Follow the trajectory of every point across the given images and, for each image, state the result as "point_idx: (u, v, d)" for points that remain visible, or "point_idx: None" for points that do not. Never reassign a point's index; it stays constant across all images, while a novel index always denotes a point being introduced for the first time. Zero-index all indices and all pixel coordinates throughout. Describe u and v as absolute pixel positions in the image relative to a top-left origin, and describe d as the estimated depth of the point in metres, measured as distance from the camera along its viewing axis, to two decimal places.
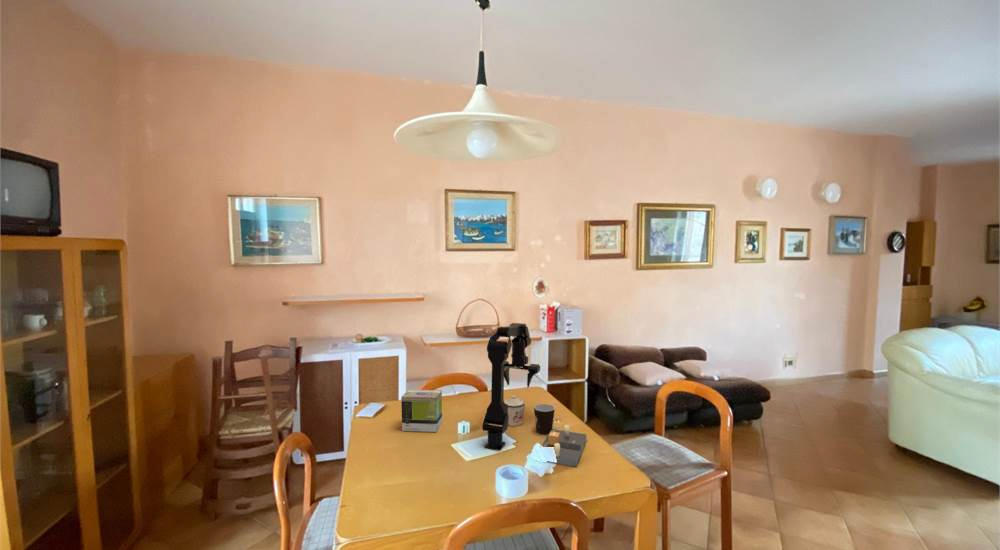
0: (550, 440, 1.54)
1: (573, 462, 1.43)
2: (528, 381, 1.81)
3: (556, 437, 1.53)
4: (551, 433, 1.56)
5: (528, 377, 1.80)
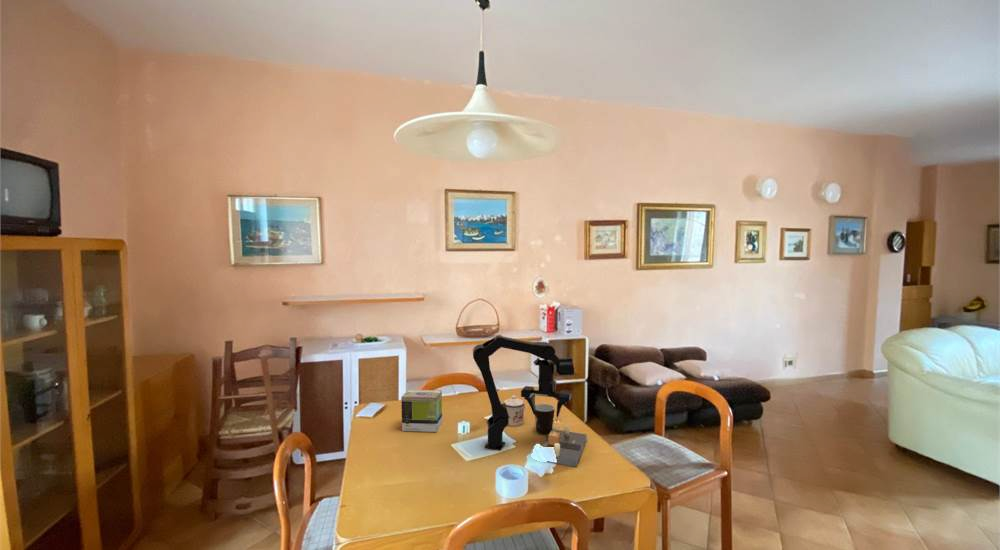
0: (550, 440, 1.54)
1: (573, 462, 1.43)
2: (558, 411, 1.57)
3: (556, 437, 1.53)
4: (551, 433, 1.56)
5: (558, 406, 1.56)
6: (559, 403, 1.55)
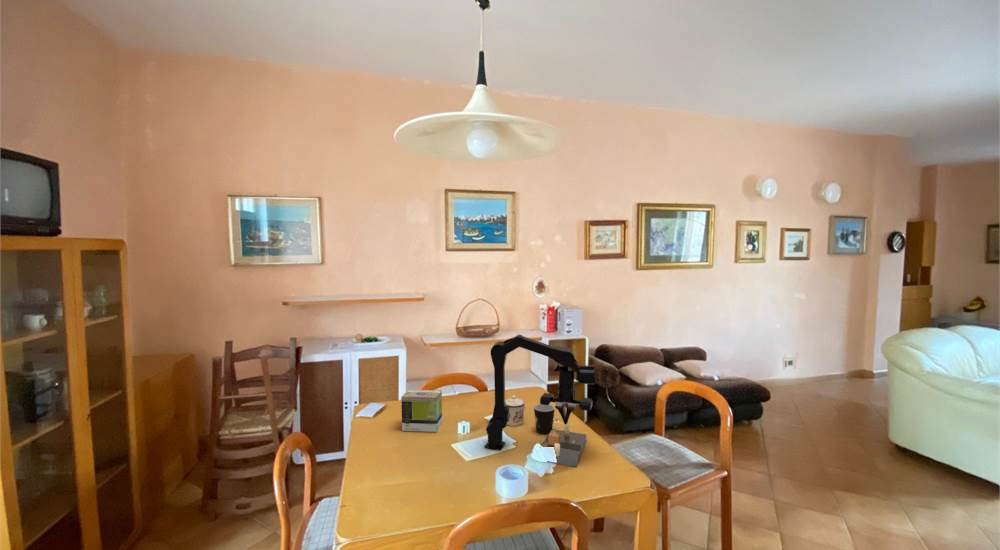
0: (550, 440, 1.54)
1: (573, 462, 1.43)
2: (567, 417, 1.53)
3: (556, 437, 1.53)
4: (551, 433, 1.56)
5: (567, 413, 1.52)
6: (568, 410, 1.52)
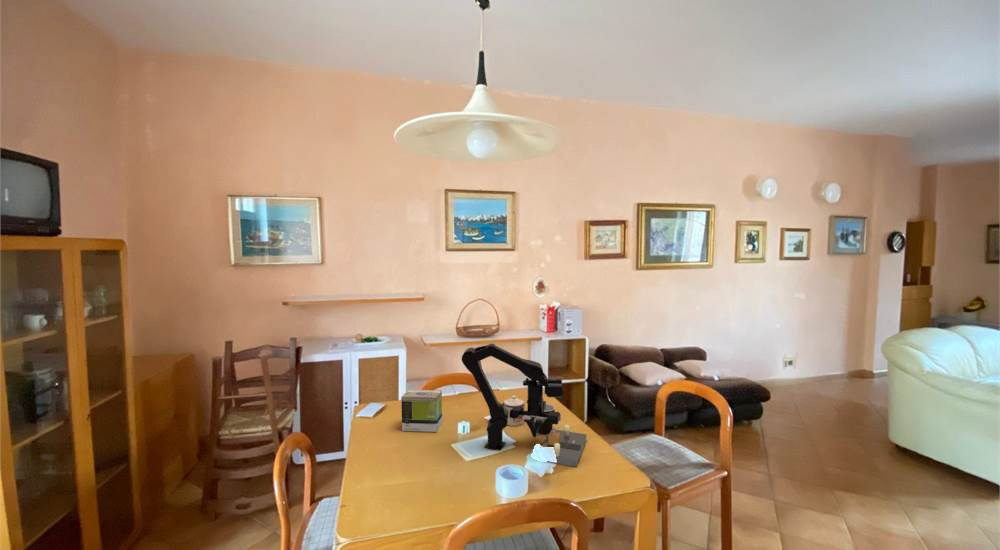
0: (550, 440, 1.54)
1: (573, 462, 1.43)
2: (535, 430, 1.56)
3: (556, 437, 1.53)
4: (551, 433, 1.56)
5: (535, 426, 1.55)
6: (536, 423, 1.54)
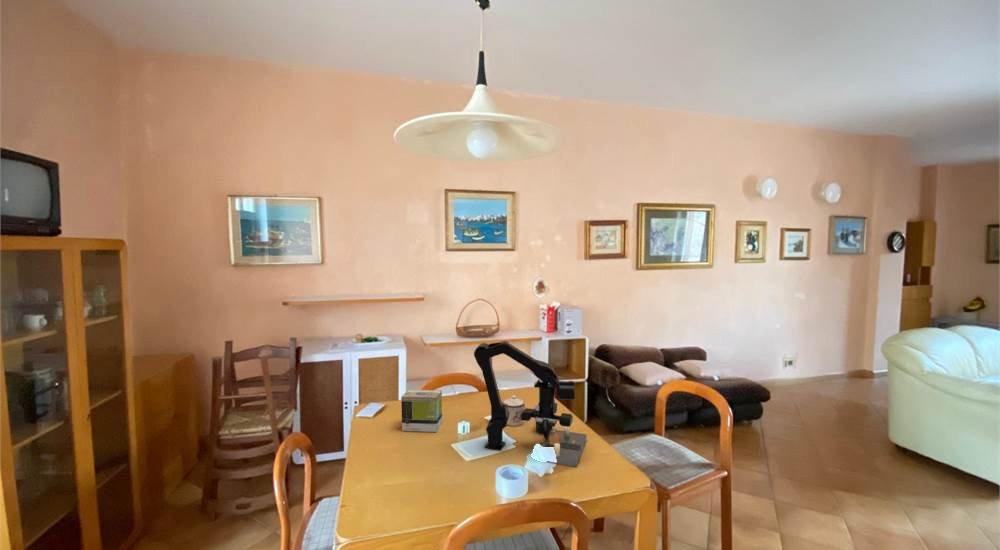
0: (551, 440, 1.54)
1: (573, 462, 1.43)
2: (547, 433, 1.54)
3: (557, 437, 1.53)
4: (552, 433, 1.55)
5: (547, 428, 1.54)
6: (548, 425, 1.53)
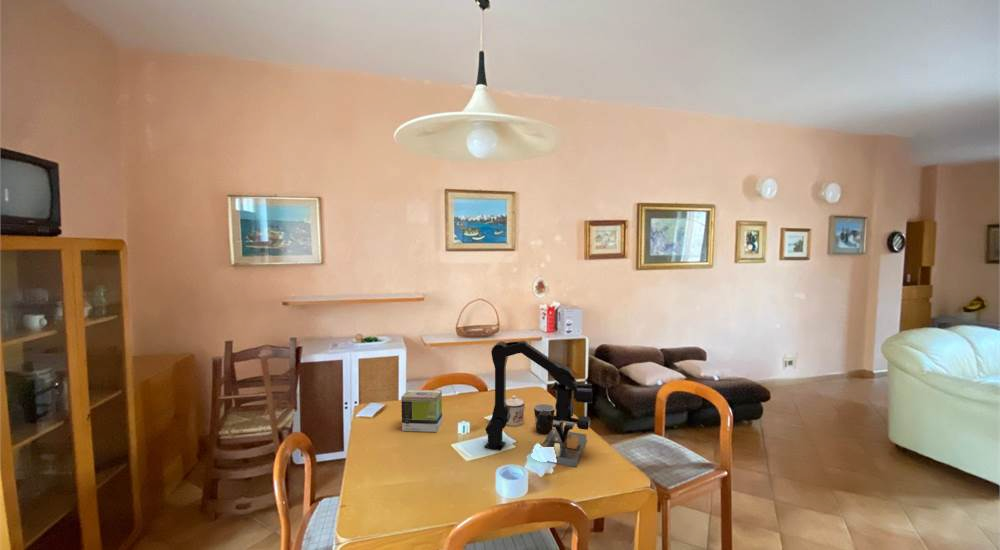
0: (568, 443, 1.52)
1: (573, 462, 1.43)
2: (564, 436, 1.52)
3: (575, 440, 1.51)
4: (570, 436, 1.53)
5: (565, 431, 1.51)
6: (566, 428, 1.51)
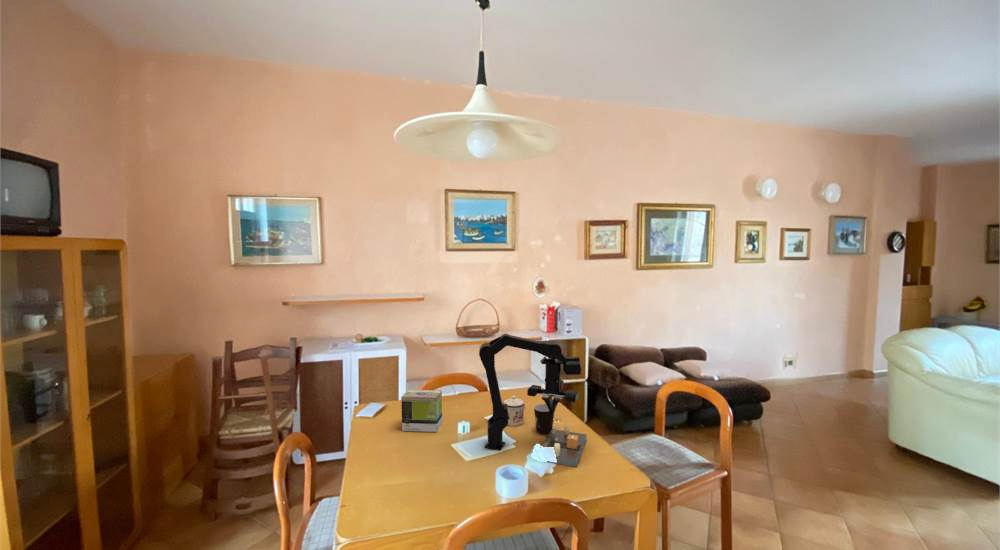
0: (568, 443, 1.52)
1: (573, 462, 1.43)
2: (553, 408, 1.57)
3: (575, 440, 1.51)
4: (570, 436, 1.53)
5: (553, 404, 1.56)
6: (554, 401, 1.56)
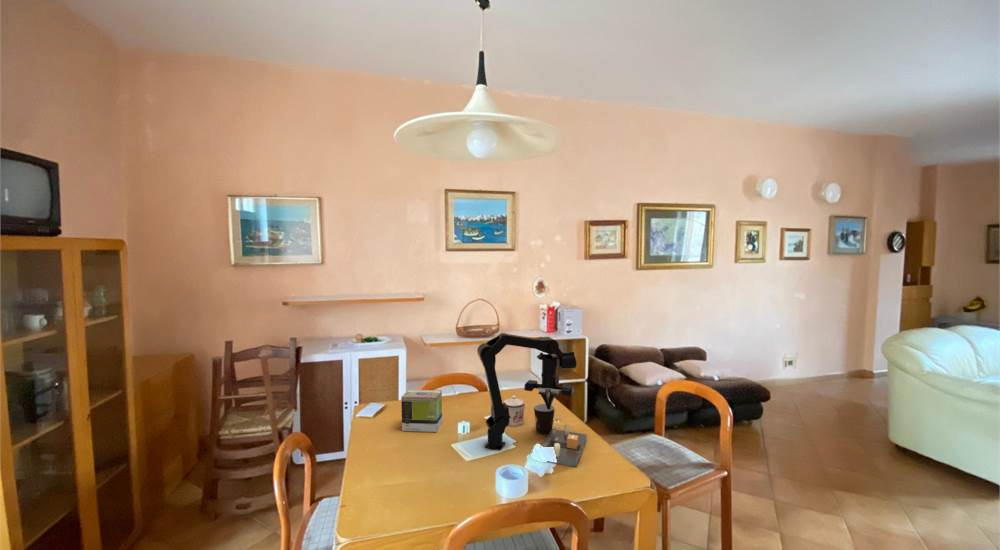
0: (568, 443, 1.52)
1: (573, 462, 1.43)
2: (550, 402, 1.61)
3: (575, 440, 1.51)
4: (570, 436, 1.53)
5: (550, 398, 1.60)
6: (551, 395, 1.60)
